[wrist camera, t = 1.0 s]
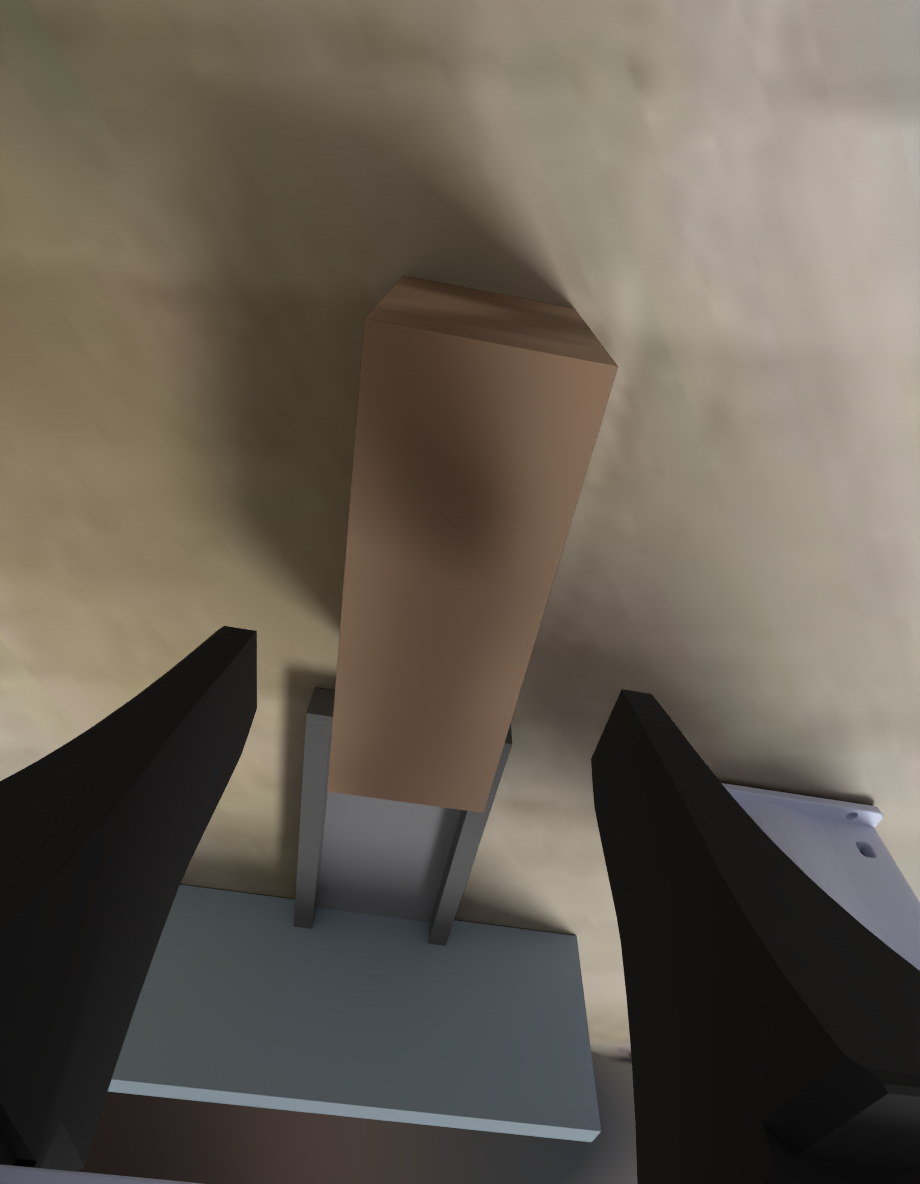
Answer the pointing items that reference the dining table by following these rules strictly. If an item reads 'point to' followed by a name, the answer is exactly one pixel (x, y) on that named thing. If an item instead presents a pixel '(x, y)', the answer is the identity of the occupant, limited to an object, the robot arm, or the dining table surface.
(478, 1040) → the wall board
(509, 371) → the brown wooden block
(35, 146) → the dining table surface
